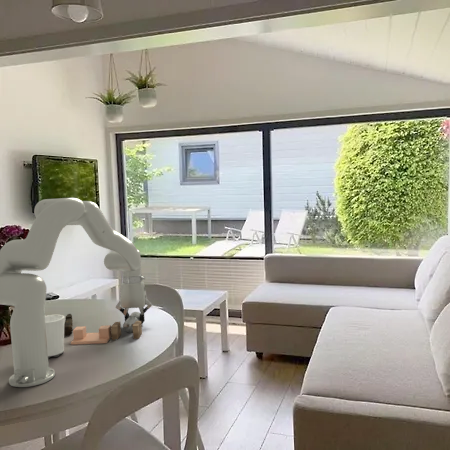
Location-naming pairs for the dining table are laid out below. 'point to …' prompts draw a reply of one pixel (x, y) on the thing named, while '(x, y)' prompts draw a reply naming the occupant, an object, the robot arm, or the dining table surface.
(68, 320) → the hand tool
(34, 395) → the dining table surface
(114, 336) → the channel block
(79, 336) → the cradle
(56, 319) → the cup
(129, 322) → the axle
